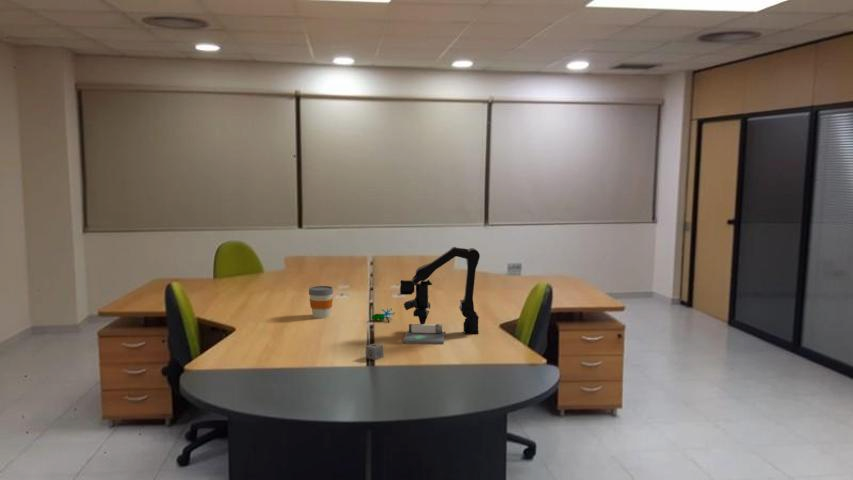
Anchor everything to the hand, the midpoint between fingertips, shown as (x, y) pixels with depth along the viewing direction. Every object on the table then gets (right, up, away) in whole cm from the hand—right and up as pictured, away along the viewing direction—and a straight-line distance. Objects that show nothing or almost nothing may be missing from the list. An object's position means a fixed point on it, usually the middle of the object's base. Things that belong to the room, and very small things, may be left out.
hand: (422, 327), depth 297 cm
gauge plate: (+1, -4, -9) cm, 10 cm away
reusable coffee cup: (-53, +1, +35) cm, 64 cm away
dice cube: (-19, -8, -36) cm, 42 cm away
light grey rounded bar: (+2, -2, -4) cm, 5 cm away
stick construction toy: (-20, -1, +24) cm, 31 cm away
